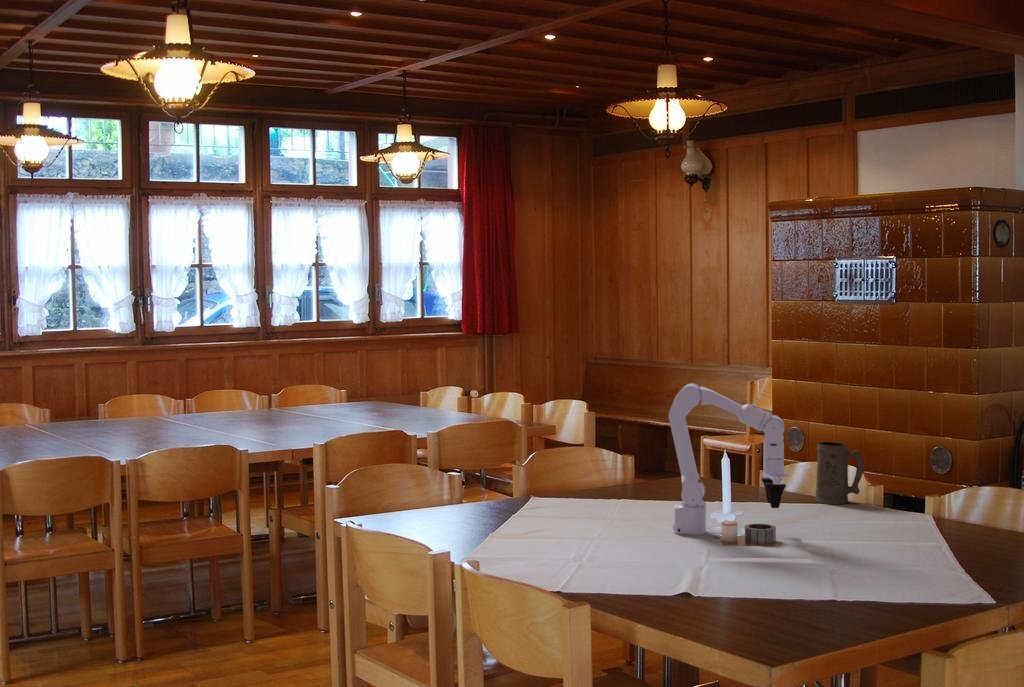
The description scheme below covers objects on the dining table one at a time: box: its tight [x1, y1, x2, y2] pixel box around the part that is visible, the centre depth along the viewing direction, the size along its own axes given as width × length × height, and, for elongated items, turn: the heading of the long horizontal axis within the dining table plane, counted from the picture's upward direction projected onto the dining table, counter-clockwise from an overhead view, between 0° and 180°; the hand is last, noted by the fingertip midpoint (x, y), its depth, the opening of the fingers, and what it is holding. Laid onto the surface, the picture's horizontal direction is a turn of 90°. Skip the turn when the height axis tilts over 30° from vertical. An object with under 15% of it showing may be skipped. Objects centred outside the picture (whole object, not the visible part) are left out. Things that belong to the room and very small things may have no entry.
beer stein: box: [814, 441, 864, 505], centre depth 388 cm, size 15×11×20 cm
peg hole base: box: [718, 523, 778, 547], centre depth 327 cm, size 15×13×5 cm
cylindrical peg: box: [721, 520, 738, 542], centre depth 328 cm, size 4×4×5 cm
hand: (773, 505), depth 334 cm, fingers open, 7 cm apart
